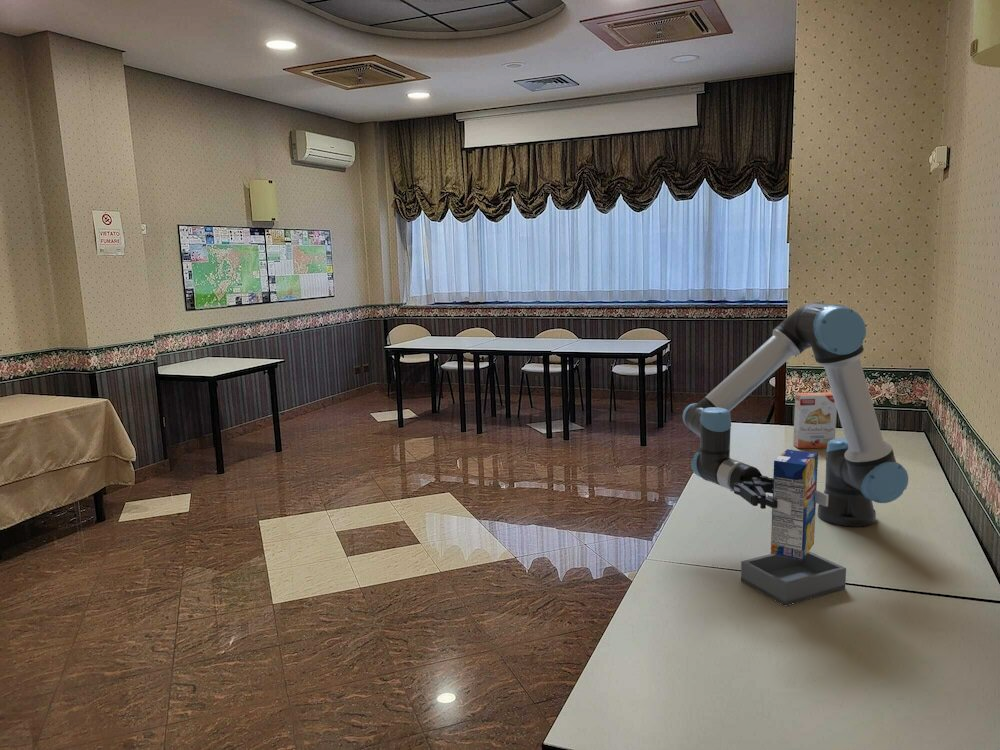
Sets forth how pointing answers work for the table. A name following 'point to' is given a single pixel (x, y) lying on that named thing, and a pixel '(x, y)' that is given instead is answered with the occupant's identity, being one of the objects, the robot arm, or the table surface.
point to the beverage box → (794, 503)
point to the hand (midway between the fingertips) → (808, 504)
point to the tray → (793, 577)
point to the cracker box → (814, 420)
